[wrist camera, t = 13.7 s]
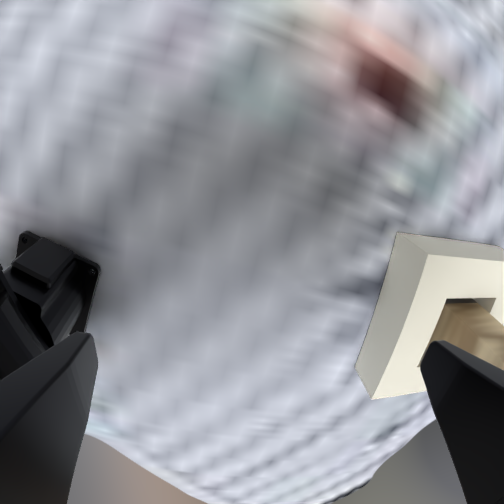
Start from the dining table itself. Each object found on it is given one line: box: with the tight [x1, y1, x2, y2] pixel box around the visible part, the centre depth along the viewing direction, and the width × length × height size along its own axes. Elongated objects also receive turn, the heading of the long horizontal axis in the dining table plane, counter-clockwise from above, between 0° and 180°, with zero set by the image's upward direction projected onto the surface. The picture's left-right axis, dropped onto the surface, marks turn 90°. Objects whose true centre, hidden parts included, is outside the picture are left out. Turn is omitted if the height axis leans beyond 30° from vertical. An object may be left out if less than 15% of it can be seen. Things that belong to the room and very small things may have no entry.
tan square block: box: [426, 298, 504, 370], centre depth 18 cm, size 4×4×13 cm
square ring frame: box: [355, 232, 504, 400], centre depth 22 cm, size 12×12×4 cm
